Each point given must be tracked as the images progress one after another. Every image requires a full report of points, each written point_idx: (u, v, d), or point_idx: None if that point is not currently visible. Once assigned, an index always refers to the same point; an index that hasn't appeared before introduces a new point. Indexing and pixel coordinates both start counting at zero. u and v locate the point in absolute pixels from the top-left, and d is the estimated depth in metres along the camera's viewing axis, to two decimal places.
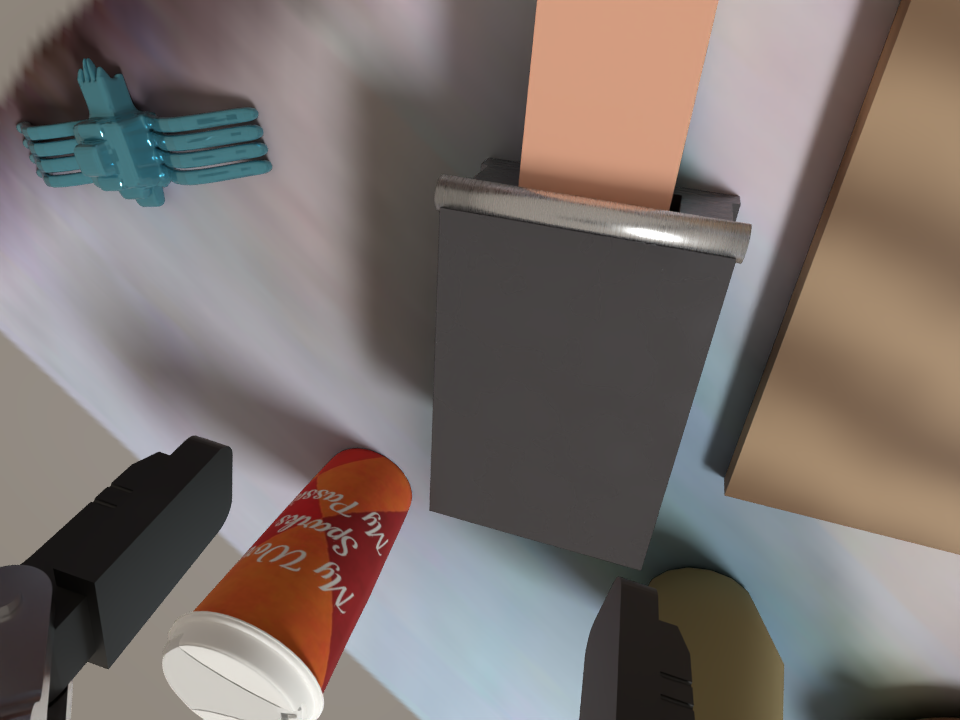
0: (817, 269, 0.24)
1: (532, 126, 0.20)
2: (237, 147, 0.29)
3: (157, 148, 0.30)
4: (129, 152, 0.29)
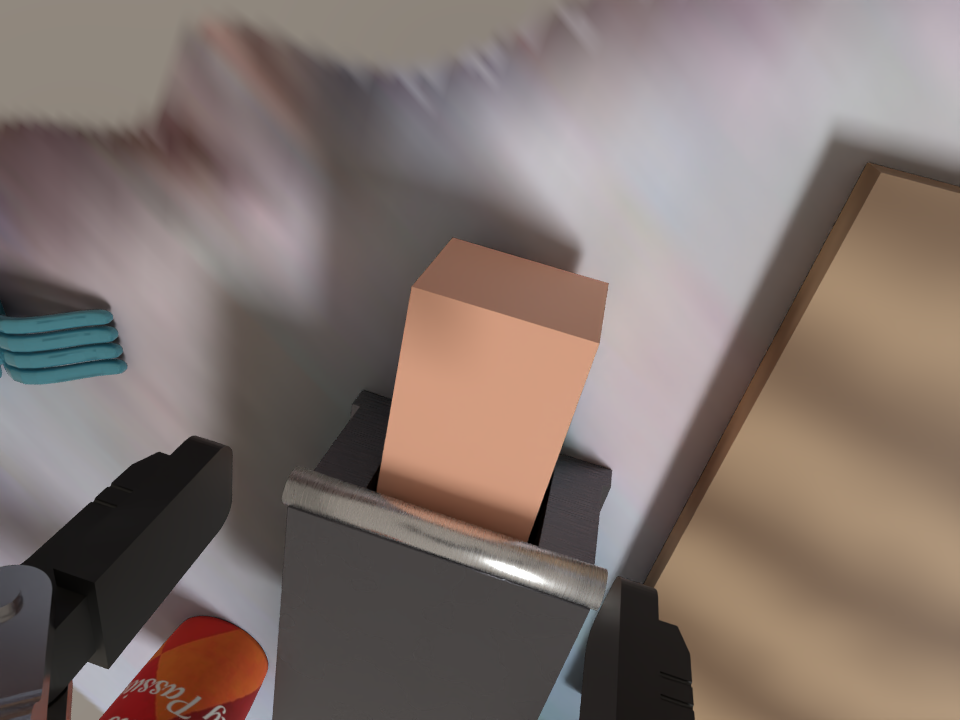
0: (679, 555, 0.24)
1: (394, 435, 0.19)
2: (85, 350, 0.26)
3: None
4: None
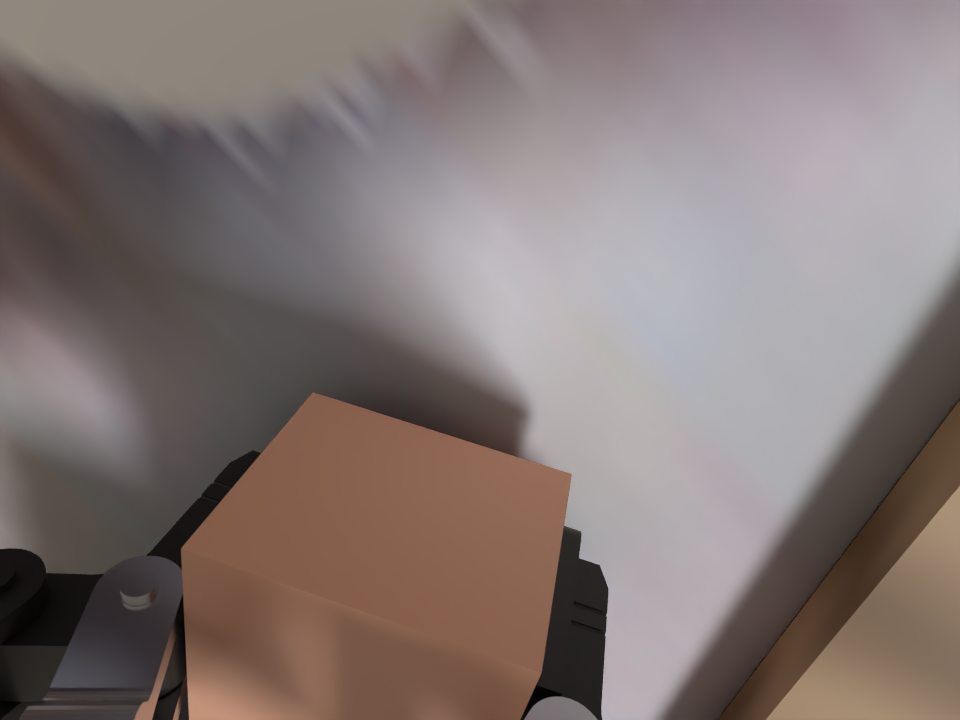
0: None
1: None
2: None
3: None
4: None
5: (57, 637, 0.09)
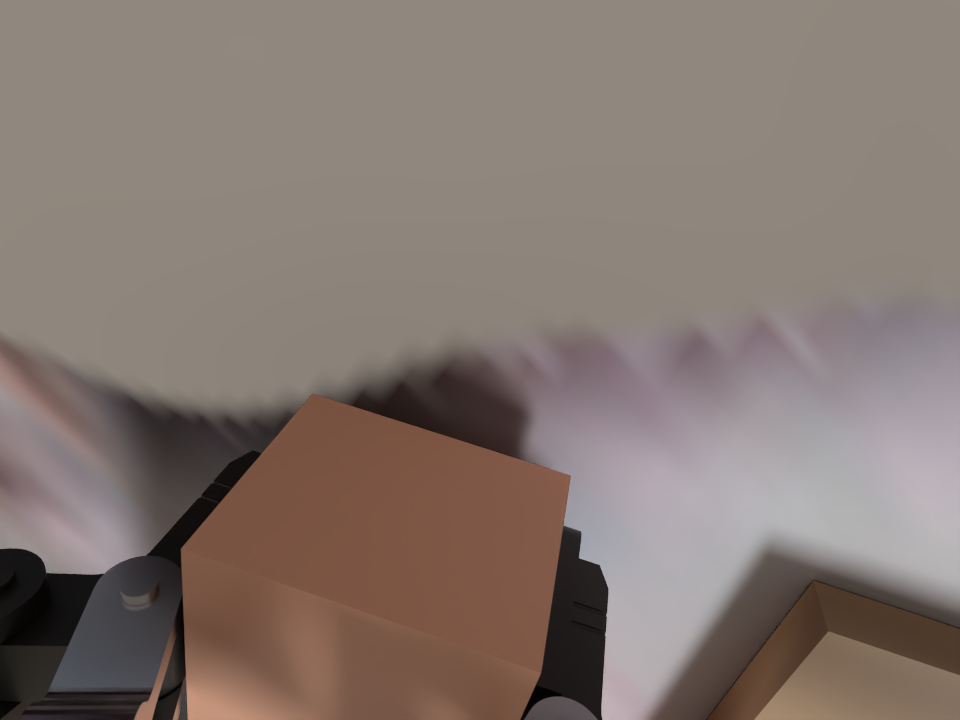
0: None
1: None
2: None
3: None
4: None
5: (57, 637, 0.09)
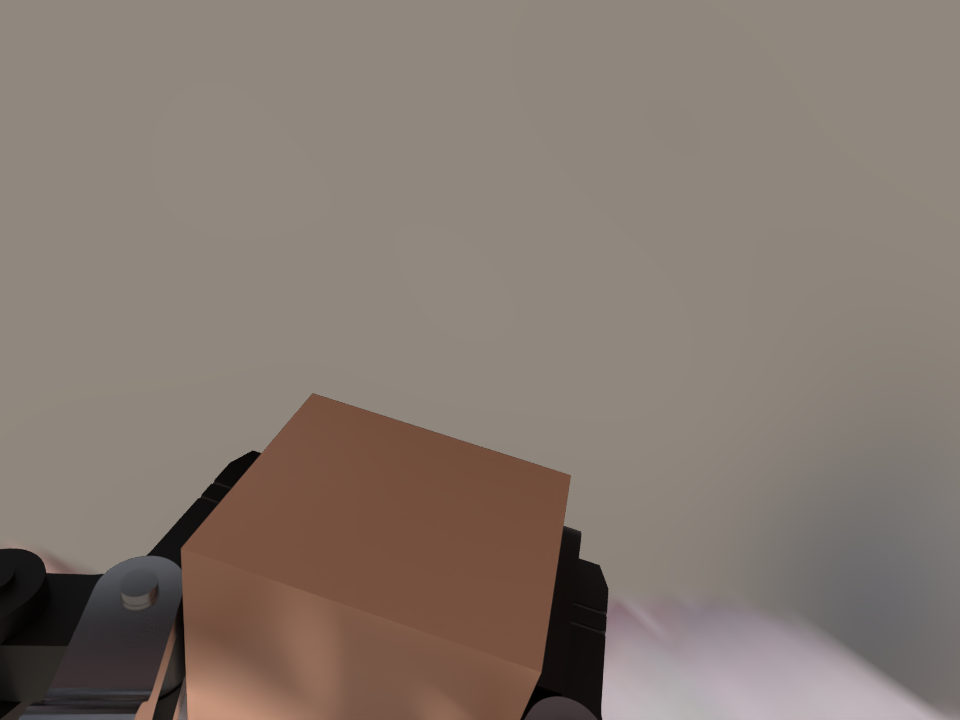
0: None
1: None
2: None
3: None
4: None
5: (57, 637, 0.09)
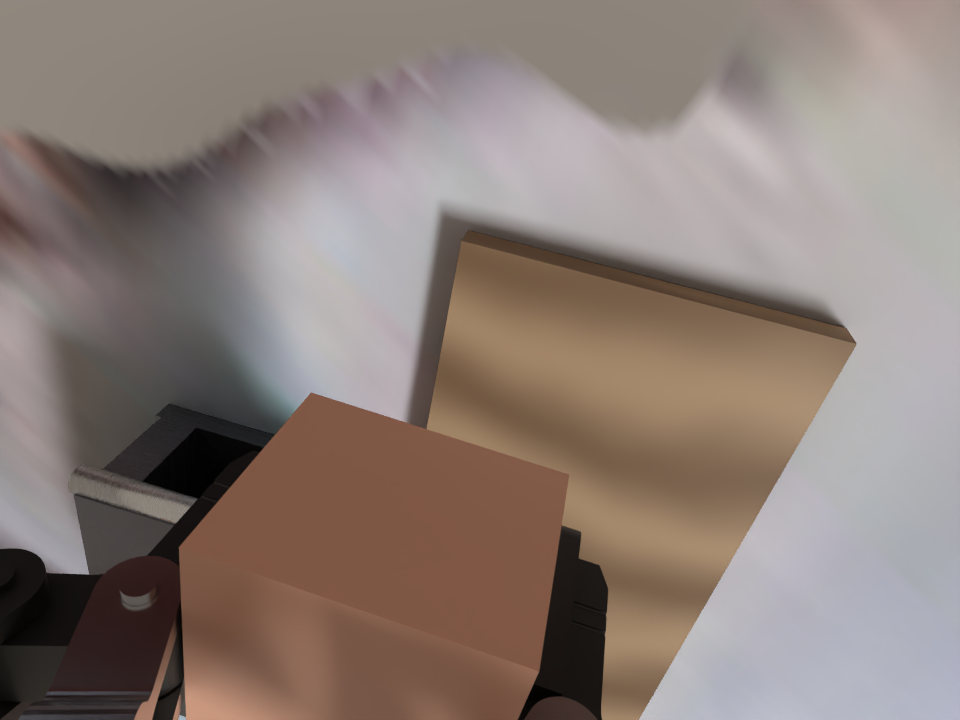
0: None
1: None
2: None
3: None
4: None
5: (57, 637, 0.09)
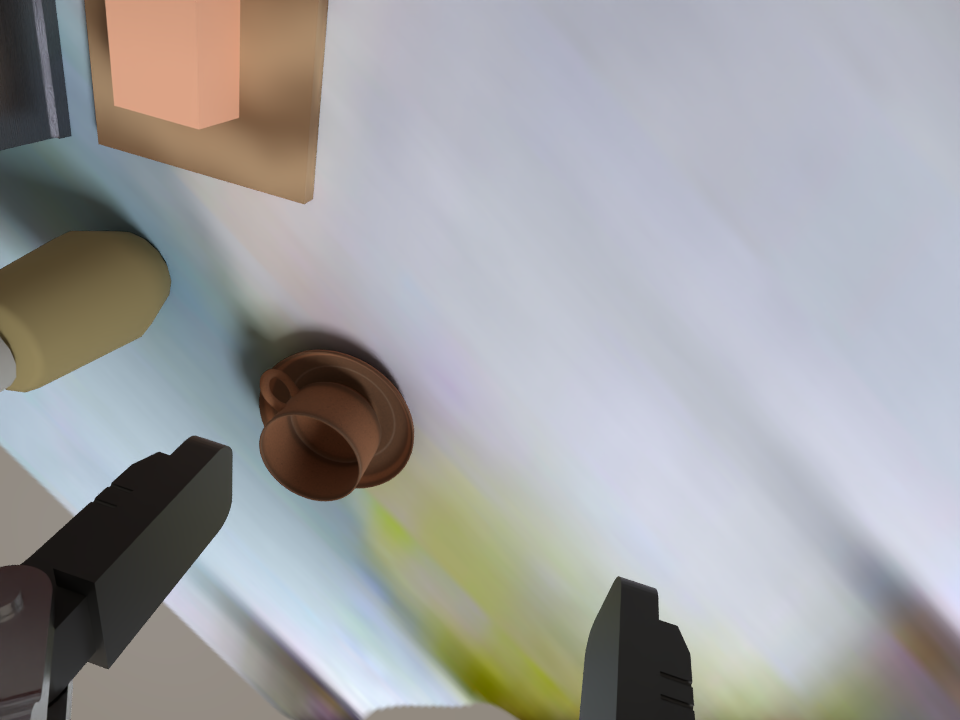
0: None
1: None
2: None
3: None
4: None
5: None
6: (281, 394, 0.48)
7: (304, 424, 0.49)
